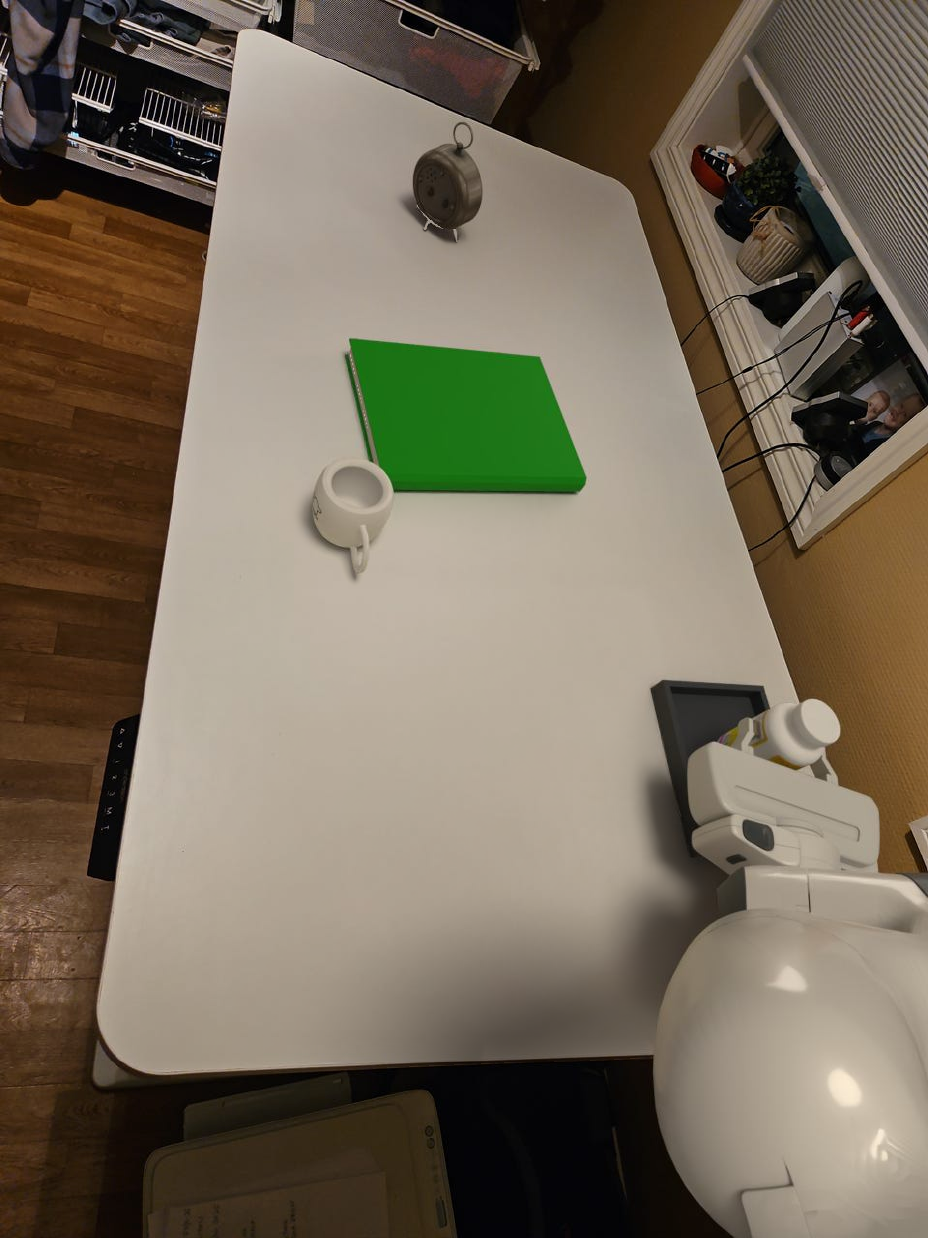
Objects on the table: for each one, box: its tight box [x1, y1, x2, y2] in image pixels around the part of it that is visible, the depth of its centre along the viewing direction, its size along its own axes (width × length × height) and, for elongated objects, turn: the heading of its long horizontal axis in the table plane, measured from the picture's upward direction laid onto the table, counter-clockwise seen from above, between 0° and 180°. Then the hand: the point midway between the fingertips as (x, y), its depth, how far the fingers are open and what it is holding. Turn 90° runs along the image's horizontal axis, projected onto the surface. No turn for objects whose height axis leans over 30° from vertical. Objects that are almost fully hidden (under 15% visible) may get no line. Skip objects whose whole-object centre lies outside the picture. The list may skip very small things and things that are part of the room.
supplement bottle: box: [717, 698, 841, 771], centre depth 76 cm, size 7×7×13 cm
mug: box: [311, 456, 395, 574], centre depth 78 cm, size 12×8×8 cm
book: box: [344, 337, 588, 493], centre depth 95 cm, size 22×28×3 cm
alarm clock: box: [412, 121, 484, 231], centre depth 109 cm, size 11×5×16 cm, turn 51°
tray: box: [650, 679, 771, 860], centre depth 82 cm, size 20×15×3 cm
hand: (780, 732), depth 76 cm, fingers closed on supplement bottle, 6 cm apart
